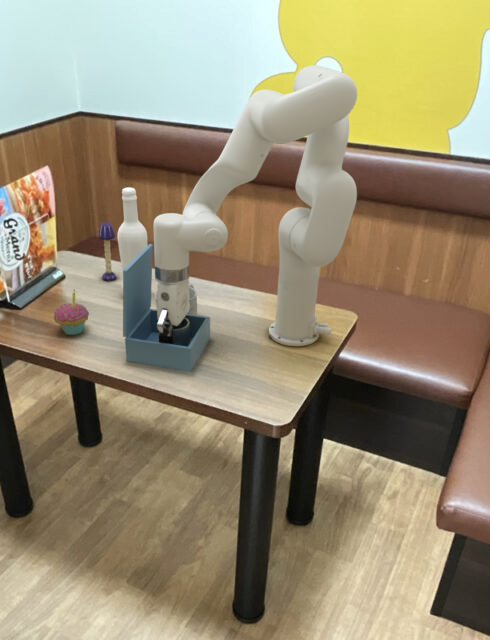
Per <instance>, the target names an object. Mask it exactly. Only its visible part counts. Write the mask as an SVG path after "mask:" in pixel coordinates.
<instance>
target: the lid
mask: <svg viewBox="0 0 490 640" xmlns="http://www.w3.org/2000/svg"><path fill="white" fill-rule="evenodd" d="M153 251H154V243H153V244H152V243H149V244H147V247H146V248H145V249H144V250H143V251H142V252H141V253H140V254H139V255H138V256H137V257H136V258H135V259H134V260H133V261H132V262H131V263H130V264H129V265H128V266H127V267H126V268H125V269H124V270H123V272H122V281H123V294H122V337H123V338H126V337H127V336H128V334H129V333H130V332H131V331H132V329H133V328H134V327H135V326H136V325H137V323H138V322H139V321H140V320H141V318H142V317H143V316H144V315H145V313H146V312H147V311H148V310H149V309H151V307H152V284H153V283H152V281H153V280H152V279H153Z"/></svg>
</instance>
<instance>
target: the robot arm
mask: <svg viewBox="0 0 490 640" xmlns="http://www.w3.org/2000/svg"><path fill="white" fill-rule="evenodd" d="M292 89H293V92H290V93H286V94H285V93H284V94H283V93H282V92H278V91H276V90H273V89H267V88H266V89H265V88H264V89H260V90H257V91H256V92H254V93H252V95H251V96H250V97H249V99H248V100H247V102H246V104H245V105H244V108H243V109H242V112H241V113H240V115H239V117H238V120H237V121H236V124H235V125H234V127H233V129H232V132H231V134H230V136H229V138H228V140H227V142H226V144H225V145H224V148H223V150H222V152H221V153H220V155H219V157H218V159H217V160H216V161H215V162H214V163H212V165H211V166H210V167H209V168H208V169H207V170H206V171H205V172H204V173H203V175H202V176H201V177H200V178H199V180H198V181H197V183H196V184H195V186H194V188H193V190H192V191H191V194H190V195H189V197H188V199H187V201H186V204H185V206H184V209H183V211H182V213H176V212H169V213H168V212H167V213H161V214H159V215H158V216H156V217H155V218H154V220H153V228H152V229H153V251H154V253H153V255H154V279H155V281H156V282H157V291H156V292H157V308H156V309H157V318H158V323H157V328H158V335H159V342H160V343H167V344H173V335H171V333H172V328H173V325H175V326H178V325H179V324H180V323H181V322H182V320H183V319H184V317H185V318H186V315H187V313H188V311H189V309H190V295H189V283H190V281H189V280H190V252H201V253H211V252H212V253H213V252H216V251H219V250H221V249H222V248H224V246H225V245H226V244H227V241H228V238H229V230H228V228H227V226H226V224H225V223H224V221H223V220H222V219H221V218H220V217H219V216H218V215H217V213H218V211H219V209H220V208H221V206H222V203H223V202H224V200H225V199H226V197H227V196H228V194H230V192H231V191H233V190H234V189H235V188H237V187H239V186H241V185H245V184H247V183H250V182H251V181H252V182H253V180H255V179H256V178H257V176H258V174H259V172H260V170H261V169H262V166H263V164H264V162H265V160H266V158H267V156H268V155H269V153H270V151H271V149H272V148H273V147H274V144H276V145H283V144H285V145H286V144H288V143H292V142H295V141H298V140H301V139H303V138H305V137H307V138H306V141H305V142H306V143H305V146H304V151H303V154H302V158H301V162H300V165H299V168H298V172H297V176H296V181H295V192H296V195H297V197H299V199H301V201H302V202H304V203H305V204H306V205H308V206H309V207H310V208H307V207H304V206H303V207H301V206H300V207H299V206H298V207H294V208H291V209H289V210H287V212H285V214H284V215H282V218H281V219H280V222H279V225H278V233H277V237H278V251H279V264H278V265H279V267H278V277H277V278H278V279H277V280H278V281H277V294H276V307H275V308H276V309H275V321H274V322H272V323H270V325H269V327H268V334H269V337H270V338H271V339H272V341H274V342H275V343H278V344H280V345H284V346H288V347H305V346H309V345H312V344H313V343H315V342H316V341H318V339H319V337H320V335H324V336H332V329H333V327H329V323H326V322H319V321H318V320H317V319H318V316H317V315H316V307H317V299H318V290H319V282H320V274H321V273H320V272H321V268H323V267H325V266H327V265H329V264H331V263H333V261H334V260H335V259H336V258H337V257H338V256H339V254H340V251H341V250H342V247H343V245H344V243H345V239H346V235H347V234H348V231H349V230H348V229H349V227H350V223H351V220H352V217H353V214H354V211H355V207H356V204H357V199H358V190H357V185H356V182H355V180H354V178H353V176H352V175H351V174H349V173H348V172H347V171H345V170H344V169H343V164H344V159H345V156H346V155H345V154H346V151H347V147H348V143H349V137H350V120H349V114H350V113H351V112H352V110H353V109H354V107H355V106H356V103H357V100H358V88H357V84H356V83H355V81H354V80H353V78H352V77H351V76H350V75H348V74H346V73H344V72H342V71H339V70H336V69H331V68H328V67H326V66H322V65H317V64H316V65H314V64H313V65H306V66H304V67H302V68H301V69H300V70H299V71H298V72H297V74H296V76H295V79H294V80H293V86H292ZM166 319H167V320H170V322H166ZM165 325H169V329H168V330H167V329H166V328H165Z"/></svg>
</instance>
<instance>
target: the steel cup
mask: <svg viewBox="0 0 490 640" xmlns="http://www.w3.org/2000/svg"><path fill="white" fill-rule="evenodd" d="M166 322H170V320H167V319H166ZM165 328H166V329H167V330H168V329H169V325H165ZM171 335H173V345H180V346H186V347H188V346H189V344H190V322H189V320H188V319H187V318H185V317H184V319H183V320H182V322H181V323H180V324H179V325H178V326H175V325H173V328H172V333H171Z"/></svg>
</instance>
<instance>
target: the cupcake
mask: <svg viewBox="0 0 490 640" xmlns="http://www.w3.org/2000/svg"><path fill="white" fill-rule="evenodd" d="M71 293H72V296H71V297H72V302H70V303H64V304H61V305H60V306H58V307H57V308H56V310H54V314H53V320H54V321H55V323H57V324H58V325H60V326H61V328H62V330H63V331H64V333H65V334H66V335H69V336H76V335H80V334H81V333H83V332H84V329H85V324H86V321H87V320H88V319H89V315H90V313H89V310H88V308H87V307H86V306H84V305H83V304H80V303H76V292H75V288H73V291H72V292H71Z"/></svg>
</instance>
